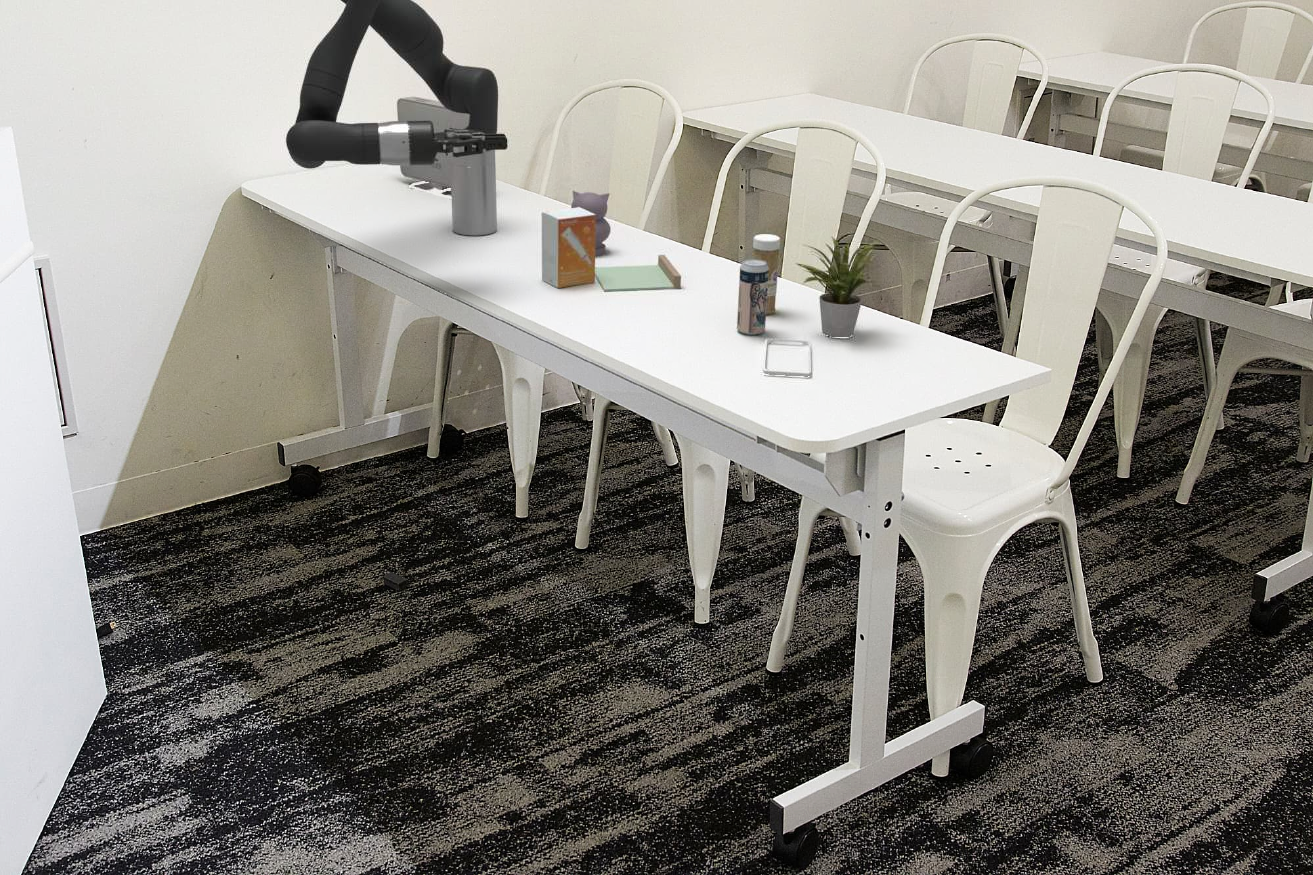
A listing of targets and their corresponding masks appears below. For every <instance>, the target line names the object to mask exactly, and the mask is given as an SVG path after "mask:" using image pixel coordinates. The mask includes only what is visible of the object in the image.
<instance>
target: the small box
mask: <svg viewBox="0 0 1313 875" xmlns="http://www.w3.org/2000/svg"><path fill="white" fill-rule="evenodd" d="M595 237H596V214H593V213H591V212H589V211H587V210H585V209H582V208H580V207H577V208H571V207H570V208H562V209H561V208H560V209H554V210H549V211H547V210H546V211H541V280H542V281H544V282H546V284H549V285H551V286H552V287H555V288H557V289H560V288H567V287H571V286H572V287H574V286H580V285H586V284H595V281H596V276H595V267H596V256H595Z"/></svg>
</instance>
